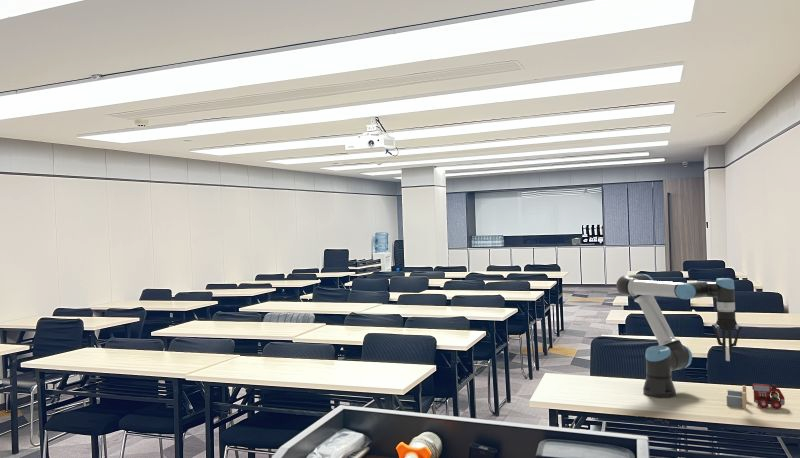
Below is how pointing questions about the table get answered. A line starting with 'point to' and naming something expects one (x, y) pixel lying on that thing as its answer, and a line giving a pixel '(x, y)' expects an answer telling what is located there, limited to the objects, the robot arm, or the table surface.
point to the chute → (737, 398)
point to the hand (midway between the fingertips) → (727, 360)
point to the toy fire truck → (768, 396)
